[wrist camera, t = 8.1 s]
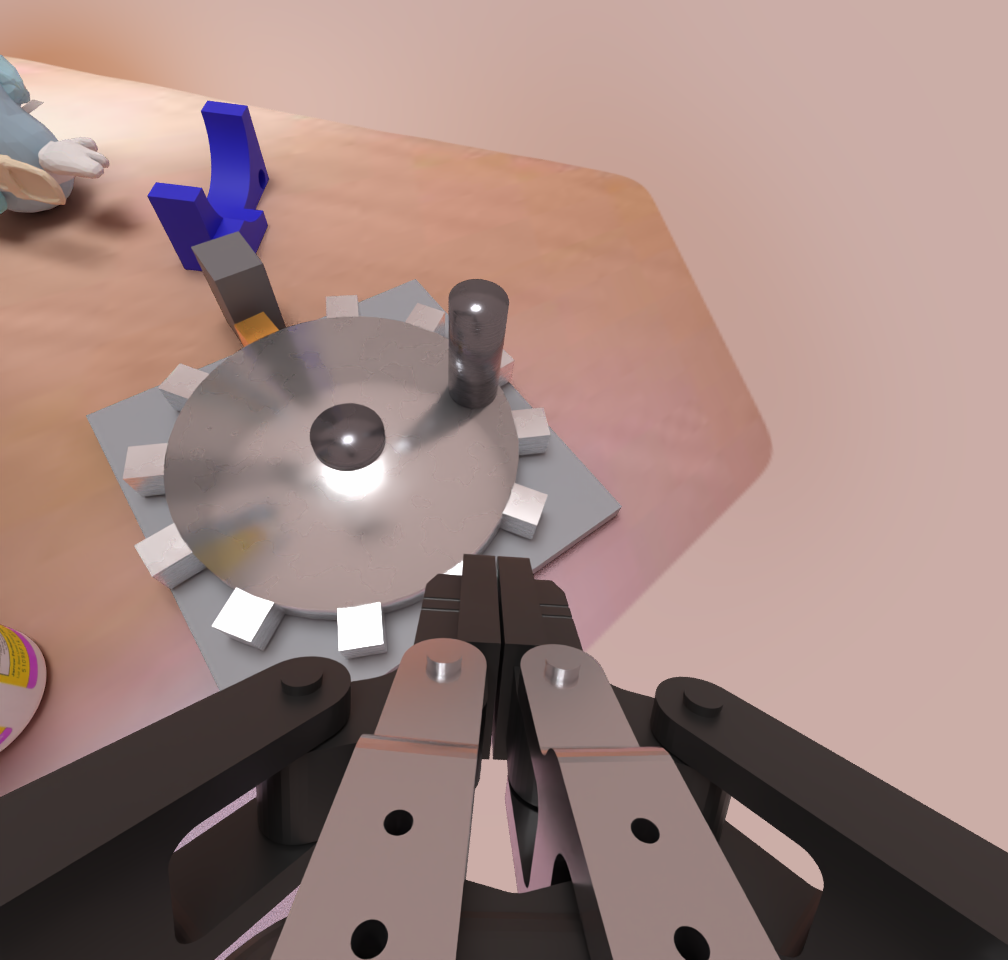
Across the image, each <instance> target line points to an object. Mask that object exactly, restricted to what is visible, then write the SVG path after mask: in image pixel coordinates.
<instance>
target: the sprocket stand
mask: <svg viewBox="0 0 1008 960" xmlns="http://www.w3.org/2000/svg"><path fill="white" fill-rule="evenodd" d="M191 248H192V250H193V252H194V254H195V256H196V258H197V261H198V263H199V265H200V267H201V269H202V271H203V273H204V275H205V277H206V279H207V281H208V283H209V285H210V288H211V290H212V292H213V294H214V296H215V298H216V300H217V302H218V304H219V306H220V308H221V310H222V312H223V315H224V317H225V319H226V320H227V322H228V323H229V325H230V326H231V328H232V329H233V331H234V332H235V334H236V335H237V337H238V338H239V340H240V341H241V339H240V337H239V335H238V333H237V331H236V329H235V327H234V325H235V324H237V323H239V322H241V321H244V320H246V319H248V318H250V317H253V316H255V315H257V314H259V313H261V312H264V313H265V314H266V315H267V317H268V318H269V319H270V320H271V321H272V322H273V324H274V325H275V326H276V327H277V328H278V330H281V329H284V328H286V327H285V324H284V321H283V318H282V315H281V313H280V310H279V307H278V304H277V301H276V299H275V296H274V293H273V290H272V287H271V285H270V282H269V279H268V276H267V273H266V270H265V268H264V265H263V263H262V262H261V260H260V259H259V258H258V256H257V255H256V254H255V252H254V251H253V250H252V248H251V247H250V246H249V244H248V243H247V242H246V240H245V239H244V238H243V236H242V235H241V234H240V232H239V231H237V232H234V233H231V234H228V235H225V236H222V237H219V238H216V239H213V240H210V241H207V242H204V243H201V244H198V245H195V246H192V247H191ZM417 303H420V304H423V305H426V306H429V307H432V308H435V309H438V310H441V311H444V310H443V309H442V308H441V307H440V305H439V304H438V303H437V302H436V301H435V300H434V299H433V298H432V297H431V295H430V294H429V293H428V292H427V291H426V290H425V289H424V288H423V287H422V286H421V284H420V283H419V282H418V281H417V280H416V279H414V280H412V281H410V282H407V283H405V284H402V285H400V286H398V287H395V288H393V289H390V290H388V291H385V292H383V293H381V294H378V295H376V296H373V297H371V298H369V299H366V300H364V301H361V302H359V308H360V314H361V316H364V317H377V318H385V319H391V320H397V321H402V322H405V321H406V320H407V318H408V317H409V315H410V314H411V312H412V310H413V309H414V307H415V306H416V304H417ZM444 312H445V311H444ZM326 318H327V316H325V317H323V318H320V319H326ZM318 320H319V319H318ZM448 331H449V315H448V314H447V313H446V312H445V335H444V337H445V338H447V339H448ZM241 343H242V342H241ZM231 356H232V355H231ZM229 357H230V356H229ZM227 358H228V357H226V358H224V359H222V360H219V361H217V362H214V363H212V364H209V365H207V366H205V367H202V368H200V369H197V370H200V371H203V372H206V373H208V374H210V373H211V372H212V371H213V370H214V369H215V368H216V367H218V366H219V365H220V364H221V363H222V362H224V361H225V360H226V359H227ZM159 386H160V385H159ZM159 386H156V387H154V388H152V389H149V390H147V391H144V392H142V393H140V394H137V395H135V396H132V397H130V398H127V399H125V400H123V401H120V402H118V403H115V404H113V405H111V406H108V407H106V408H103V409H101V410H99V411H96V412H94V413H91V414H89V415H86V417H87V419H88V421H89V423H90V425H91V427H92V429H93V431H94V433H95V435H96V437H97V439H98V441H99V443H100V445H101V447H102V449H103V452H104V454H105V456H106V458H107V460H108V462H109V464H110V466H111V468H112V470H113V472H114V474H115V476H116V478H117V480H118V482H119V484H120V487H121V489H122V491H123V493H124V495H125V497H126V499H127V501H128V503H129V505H130V507H131V509H132V511H133V513H134V515H135V517H136V519H137V521H138V524H139V526H140V528H141V530H142V532H143V534H144V536H145V538H148V537H150V536H152V535H153V534H155V533H157V532H159V531H160V530H162V529H164V528H166V527H168V526H169V525H171V524H173V523H174V522H173V520H172V517H171V514H170V511H169V508H168V504H167V501H166V496H165V494H161V495H152V496H143V497H142V496H140V495H139V494H138V493H137V492H136V491H135V490H134V489H133V488H132V487H131V486H130V485H129V484H127V483H126V482H125V481H124V480H123V473H124V468H125V462H126V456H127V450H128V447H129V446H140V445H151V444H161V443H168V440H169V437H170V434H171V432H172V429H173V427H174V424H175V421H176V419H177V417H178V416H179V414H180V412H181V411H178V410H175V409H173V408H172V406H171V405H170V404H169V402H168V401H167V399H166V398H165V397H164V395H163V394H162V393H161V391H160V390H159V389H158V387H159ZM500 388H501V389H502V391H503V392H504V394H505V397H506V399H507V401H508V403H509V405H510V407H511V410H523V409H533V408H532V407H531V406H530V405H529V404H528V402H527V401H526V400H525V399H524V398H523V397H522V396H521V395H520V394H519V393H518V391H517V390H516V389H515V388H514V387H513V386H512V385H511V384H510V383H509V382H508V383H506V384H504V385H503V386H501V387H500ZM548 427H549V426H548ZM549 431H550V438H549V442H548V445H547V448H546V451H545V453H538V454H529V455H520V456H519V461H518V468H517V474H516V480H515V483H516V484H519V485H522V486H525V487H527V488H530V489H533V490H536V491H539V492H541V493H544V494H547V495H548V496H547V499H546V501H545V504H544V507H543V510H542V513H541V515H540V518H539V521H538V524H537V527H536V529H535V532H534V535H533V538H532V540H531V539H528V538H525V537H522V536H520V535H517V534H514V533H511V532H509V531H506V530H503V529H501V528H499V530H498V532H497V533H496V535H495V536H494V538H493V539H492V541H491V542H490V544H489V545H488V547H487V548H486V550H485V551H484V552H483V553H482V554H481V555H491V556H495V561H497V556H507V557H522V558H529V559H530V562H531V567H532V572H533V574H534V573H536V572H537V571H539V570H540V569H541V568H543V567H544V566H546V565H547V564H548V563H550V562H551V561H553V560H554V559H555V558H557V557H558V556H560V555H561V554H562V553H564V552H565V551H567V550H568V549H569V548H571V547H572V546H574V545H575V544H577V543H578V542H579V541H581V540H582V539H584V538H585V537H586V536H588V535H589V534H591V533H592V532H593V531H595V530H596V529H598V528H599V527H600V526H602V525H603V524H605V523H606V522H607V521H609V520H610V519H612V518H613V517H615V516H616V515H617V513H618V512H619V510H620V509H621V507H622V506H621V505H620V504H619V503H618V502H617V501H616V500H615V498H614V497H613V496H612V495H611V494H610V493H609V492H608V491H607V490H606V489H605V487H604V486H603V485H602V484H601V483H600V482H599V481H598V480H597V479H596V478H595V476H594V475H593V474H592V473H591V472H590V471H589V470H588V469H587V468H586V466H585V465H584V464H583V463H582V462H581V461H580V460H579V459H578V458H577V457H576V455H575V454H574V453H573V452H572V451H571V450H570V449H569V448H568V447H567V446H566V444H565V443H564V442H563V441H562V440H561V439H560V438H559V437H558V436H557V434H556V433H555V432H554V431H553V430H552V429H551V428H550V427H549ZM171 591H172V593H173V596H174V598H175V600H176V602H177V604H178V606H179V608H180V610H181V612H182V614H183V616H184V618H185V620H186V622H187V624H188V626H189V628H190V631H191V633H192V635H193V637H194V639H195V641H196V643H197V645H198V647H199V649H200V651H201V653H202V655H203V657H204V659H205V661H206V663H207V665H208V668H209V670H210V672H211V674H212V676H213V678H214V680H215V682H216V684H217V686H218V688H219V690H220V691H221V690H223V689H225V688H227V687H230V686H232V685H234V684H236V683H238V682H240V681H242V680H244V679H246V678H248V677H250V676H252V675H254V674H256V673H258V672H261V671H263V670H265V669H267V668H269V667H271V666H273V665H275V664H277V663H280V662H282V661H285V660H289V659H293V658H297V657H305V656H318V657H325V658H330V659H333V660H335V661H337V662H339V663H341V664H342V665H344V666H345V667H346V668H347V670H348V671H349V673H350V676H351V682H352V681H358V680H364V679H370V678H375V677H379V676H382V675H385V674H388V673H390V672H392V671H394V670H396V669H398V667H399V664H400V662H401V659H402V657H403V655H404V653H405V652H406V651H407V650H408V649H409V648H410V647H412V646H413V645H414V641H415V636H416V631H417V626H418V622H419V617H420V612H421V607H422V602H423V599H422V600H420V601H418V602H416V603H414V604H412V605H409V606H406V607H404V608H401V609H398V610H395V611H392V612H389V613H385V614H384V617H385V629H386V642H387V652H386V653H380V654H374V655H368V656H362V657H356V658H350V659H346V658H345V657H344V656H343V655H342V654H341V653H340V651H339V638H338V620H321V619H310V618H304V617H298V616H292V615H288V614H284V616H283V618H282V620H281V621H280V623H279V625H278V627H277V628H276V630H275V632H274V634H273V635H272V637H271V639H270V640H269V642H268V644H267V646H266V647H265V649H264V651H263V650H260V649H258V648H255V647H253V646H250V645H248V644H245V643H243V642H240V641H238V640H235V639H233V638H230V637H228V636H226V635H224V634H223V633H221V632H220V631H218V630H217V629H215V628H214V627H212V625H213V623H214V622H215V620H216V618H217V617H218V615H219V614H220V612H221V611H222V609H223V607H224V606H225V604H226V603H227V601H228V600H229V598H230V596H231V595H232V593H233V592H234V590H233V589H232V588H231V587H229V586H228V585H226V584H225V583H224V582H223V581H222V580H221V579H219V578H218V577H217V576H216V575H215V574H214V573H213V572H211V571H210V570H209V569H208V568H207V567H206V568H205V569H203V570H201V571H200V572H198V573H196V574H195V575H193V576H191V577H190V578H188V579H187V580H185V581H183V582H182V583H180V584H178V585H177V586H175V587H174V588H172V589H171Z"/></svg>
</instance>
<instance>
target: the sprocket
mask: <svg viewBox="0 0 1008 960" xmlns="http://www.w3.org/2000/svg"><path fill="white" fill-rule="evenodd" d="M508 306H509V299H508V296H507V294H506V292H505V291H504V290H503V289H502V288H501V287H500V286H498V285H497V284H495V283H493V282H490V281H487V280H482V279H470V280H466V281H463V282H461V283H459V284H457V285H456V286H455V287H454V288H453V289H452V290H451V292H450V294H449V331H448V339H447V338H445V337H444V335H445V312H444V311H441V310H438V309H435V308H432V307H429V306H426V305H423V304H420V303H417V304H416V306H415V307H414V309H413V310H412V312H411V314H410V315H409V317H408V318H407V320H406V321H405V322H402V321H397V320H391V319H385V318H377V317H364V316H361V314H360V308H359V303H358V298H357V295H348V296H330V297H326V313H327V318H326V319H319V320H314V321H309V322H304V323H300V324H297V325H294V326H290V327H287V328H284V329H281V330H278V328H277V327H276V326H275V325H274V324H273V322H272V321H271V320H270V319H269V318H268V317H267V315H266V314H265V313H264V312H261V313H259V314H257V315H255V316H253V317H250V318H248V319H246V320H244V321H241V322H239V323H237V324H235V325H234V327H235V329H236V331H237V333H238V335H239V337H240V339H241V342H242V344H243V346H244V348H242V349H241V350H239V351H238V352H236V353H235V354H233V355H232V356H230V357H228V358H227V359H226V360H225V361H224V362H222V363H221V364H220V365H219V366H218V367H216V368H215V369H214V370H213V371H212V372H211V373H210V374H208V373H206V372H203V371H200V370H197V369H194V368H192V367H189V366H186V365H183V364H179V365H178V366H177V367H176V368H175V369H174V370H173V372H172V373H171V374H170V375H169V376H168V377H167V378H166V379H165V380H164V382H163V383H162V384H161V385H160V386H159V387H158V389H159V390H160V391H161V393H162V394H163V395H164V397H165V398H166V399H167V401H168V402H169V404H170V405H171V406H172V408H173V409H175V410H178V411H181V412H180V414H179V416H178V417H177V419H176V421H175V424H174V427H173V429H172V432H171V434H170V437H169V440H168V443H161V444H151V445H140V446H129V447H128V450H127V456H126V462H125V468H124V473H123V480H124V481H125V482H126V483H127V484H129V485H130V486H131V487H132V488H133V489H134V490H135V491H136V492H137V493H138V494H139V495H140V496H142V497H143V496H152V495H161V494H165V496H166V501H167V504H168V508H169V511H170V514H171V517H172V520H173V522H174V523H173V524H171V525H169V526H168V527H166V528H164V529H162V530H160V531H159V532H157V533H155V534H153V535H152V536H150V537H148V538H146V539H145V540H143V541H141V542H139V543H138V544H136V545H134V546H135V548H136V550H137V552H138V553H139V555H140V557H141V558H142V560H143V562H144V564H145V565H146V567H147V569H148V570H149V572H150V574H151V576H152V577H154V578H155V579H157V580H158V581H159V582H161V583H162V584H164V585H165V586H167V587H168V588H170V589H172V588H174V587H175V586H177V585H178V584H180V583H182V582H183V581H185V580H187V579H188V578H190V577H191V576H193V575H195V574H196V573H198V572H200V571H201V570H203V569H205V568H206V567H207V568H208V569H209V570H210V571H211V572H213V573H214V574H215V575H216V576H217V577H218V578H219V579H221V580H222V581H223V582H224V583H225V584H226V585H228V586H229V587H231V588H232V589H233V590H234V592H233V593H232V595H231V596H230V598H229V600H228V601H227V603H226V604H225V606H224V607H223V609H222V611H221V612H220V614H219V615H218V617H217V618H216V620H215V622H214V623H213V625H212V627H214V628H215V629H217V630H218V631H220V632H221V633H223V634H224V635H226V636H228V637H230V638H233V639H235V640H238V641H240V642H243V643H245V644H248V645H250V646H253V647H255V648H258V649H260V650H263V651H264V649H265V647H266V646H267V644H268V642H269V640H270V639H271V637H272V635H273V634H274V632H275V630H276V628H277V627H278V625H279V623H280V621H281V620H282V618H283V616H284V614H288V615H292V616H298V617H304V618H310V619H321V620H338V638H339V651H340V653H341V654H342V655H343V656H344V657H345V658H346V659H350V658H356V657H362V656H368V655H374V654H380V653H386V652H387V642H386V629H385V617H384V614H385V613H389V612H392V611H395V610H398V609H401V608H404V607H406V606H409V605H412V604H414V603H416V602H418V601H420V600H422V599H424V593H425V588H426V584H427V583H428V582H429V581H430V580H431V579H432V578H434V577H435V576H436V575H437V574H438V573H439V574H454V575H462V566H463V554H476V555H481V554H482V553H483V552H484V551H485V550H486V548H487V547H488V545H489V544H490V542H491V541H492V539H493V538H494V536H495V535H496V533H497V532H498V530H499V528H501V529H503V530H506V531H509V532H511V533H514V534H517V535H520V536H522V537H525V538H528V539H531V540H532V538H533V535H534V532H535V529H536V527H537V524H538V521H539V518H540V515H541V513H542V510H543V507H544V504H545V501H546V499H547V496H548V495H547V494H544V493H541V492H539V491H536V490H533V489H530V488H527V487H525V486H522V485H519V484H516V483H515V480H516V474H517V468H518V461H519V456H520V455H529V454H538V453H545V451H546V448H547V445H548V442H549V438H550V431H549V427H548V423H547V420H546V416H545V412H544V408H533V409H523V410H511V407H510V405H509V403H508V401H507V399H506V397H505V394H504V392H503V391H502V389H501V388H500V387H501V386H503V385H504V384H506V383H508V382H509V381H511V378H512V372H513V366H514V359H513V358H512V357H511V356H510V355H509V354H508V353H507V352H505V351H504V350H503V345H504V337H505V329H506V322H507V314H508Z"/></svg>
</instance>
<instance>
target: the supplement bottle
mask: <svg viewBox="0 0 1008 960" xmlns="http://www.w3.org/2000/svg"><path fill="white" fill-rule="evenodd" d="M45 685H46V664H45V660H44V657H43V655H42V652H41V651H40V649H39V648H38V646H37V645H36V644H35V643H34V642H33V641H32V640H31V639H30V638H29V637H27V636H26V635H24V634H23V633H21V632H19V631H17V630H14V629H11V628H9V627H6V626H3V625H0V752H1V751H2V750H3V749H5V748H6V747H7V746H8V745H9V744H10V743H11V742H12V741H13V740H15V738H16V737H17V736H18V735H19V734H20V733H21V732H22V731H23V729H24V728H25V727H26V726H27V724H28V723H29V721H30V720H31V718H32V717H33V715H34V713H35V712H36V710H37V708H38V706H39V704H40V701H41V699H42V696H43V693H44V689H45Z"/></svg>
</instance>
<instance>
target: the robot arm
mask: <svg viewBox="0 0 1008 960" xmlns="http://www.w3.org/2000/svg"><path fill="white" fill-rule="evenodd" d="M491 736H492V744H493V759H498V760H507V764H508V776H507V786H506V793H505V804H506V811H507V818H508V825H509V833H510V839H511V846H512V854H513V861H514V868H515V875H516V882H517V890H518V893H510V892H506V891H502V890H499V889H495V888H492V887H489V886H485V885H482V884H478V883H475V882H471V881H468V880H466V872H467V862H468V853H469V842H470V833H471V822H472V813H473V803H474V793H475V788H476V787H477V785H478V782H479V779H480V771H481V761H482V759H489V756H490V746H491ZM254 787H256V792H257V797H256V798H254V799H253V800H251V801H250V802H248V803H247V804H245V805H244V806H242V807H241V808H239V809H238V810H236V811H235V812H233V813H232V814H230V815H229V816H227V817H226V818H225V819H223V820H222V821H220V822H219V823H217V824H216V825H214V826H213V827H211V828H210V829H208V830H207V831H205V832H204V833H202V834H201V835H199V836H198V837H196V838H195V839H194V840H192V841H191V842H189V843H188V844H186V845H185V846H183V847H182V848H180V849H179V850H177V851H176V852H174V850H175V849H176V847H177V846H178V844H179V843H180V842H181V840H182V839H183V838H184V837H185V836H186V835H187V834H188V833H189V832H190V831H191V830H192V829H193V828H194V827H196V826H197V825H198V824H200V823H201V822H203V821H204V820H206V819H207V818H209V817H210V816H212V815H213V814H215V813H216V812H218V811H220V810H221V809H223V808H224V807H226V806H227V805H229V804H230V803H232V802H233V801H235V800H236V799H238V798H239V797H241V796H242V795H244V794H245V793H247V792H248V791H250V790H251V789H253V788H254ZM731 796H732V797H733V798H735V799H736V800H738V801H739V802H740V803H742V804H743V805H744V806H746V807H747V808H749V809H750V810H751V811H753V812H754V813H755V814H757V815H758V816H760V817H761V818H762V819H764V820H765V821H767V822H768V823H769V824H771V825H772V826H773V827H775V828H776V829H778V830H779V831H780V832H782V833H783V834H785V835H786V836H787V837H789V838H790V839H791V840H793V841H794V842H796V843H797V844H799V845H800V846H801V847H802V848H803V849H805V850H806V851H807V852H808V853H809V854H810V856H811V857H812V858H813V859H814V861H815V862H816V864H817V865H818V867H819V869H820V871H821V873H822V876H823V881H824V888H823V891H821V890H818V889H816V888H814V887H813V886H811V885H810V884H808V883H807V882H806V881H804V880H803V879H802V878H800V877H799V876H798V875H796V874H795V873H794V872H792V871H791V870H790V869H788V868H787V867H786V866H785V865H783V864H782V863H781V862H779V861H778V860H777V859H775V858H774V857H773V856H771V855H770V854H769V853H768V852H766V851H765V850H764V849H762V848H761V847H760V846H758V845H757V844H756V843H754V842H753V841H752V840H750V839H749V838H748V837H747V836H745V835H744V834H743V833H741V832H740V831H739V830H737V829H736V828H735V827H733V826H732V825H731V824H729V823H728V822H727V821H726V820H725V818H726V814H727V810H728V806H729V802H730V799H731ZM173 852H174V853H173ZM299 885H300V887H299V889H298V892H297V894H296V897H295V899H294V902H293V904H292V907H291V909H290V912H289V914H288V917H286V918H284V919H282V920H280V921H278V922H276V923H274V924H273V925H271V926H269V927H268V928H266V929H265V930H263V931H261V932H260V933H258V934H257V935H255V936H254V937H252V938H251V939H250V940H248V941H247V942H246V943H244V944H243V945H242V946H241V947H239V948H238V949H237V950H235V951H234V952H233V953H231V954H230V955H229V956H228V957H227V958H226V959H225V960H1008V853H1007V852H1006V851H1004V850H1002V849H1000V848H999V847H997V846H995V845H993V844H992V843H990V842H988V841H986V840H985V839H983V838H981V837H980V836H978V835H976V834H974V833H973V832H971V831H969V830H967V829H966V828H964V827H962V826H961V825H959V824H957V823H955V822H954V821H952V820H950V819H948V818H947V817H945V816H943V815H941V814H940V813H938V812H936V811H934V810H933V809H931V808H929V807H928V806H926V805H924V804H922V803H921V802H919V801H917V800H915V799H913V798H912V797H910V796H908V795H907V794H905V793H903V792H902V791H900V790H898V789H896V788H895V787H893V786H891V785H889V784H888V783H886V782H884V781H883V780H881V779H879V778H877V777H876V776H874V775H872V774H870V773H869V772H867V771H865V770H863V769H862V768H860V767H858V766H857V765H855V764H853V763H851V762H850V761H848V760H846V759H844V758H843V757H841V756H839V755H837V754H836V753H834V752H832V751H830V750H829V749H827V748H825V747H823V746H822V745H820V744H818V743H817V742H815V741H813V740H811V739H810V738H808V737H806V736H805V735H803V734H801V733H799V732H797V731H796V730H794V729H792V728H791V727H789V726H787V725H785V724H784V723H782V722H780V721H778V720H777V719H775V718H773V717H771V716H770V715H768V714H766V713H765V712H763V711H761V710H759V709H758V708H756V707H754V706H753V705H751V704H749V703H747V702H746V701H744V700H742V699H740V698H738V697H737V696H735V695H733V694H732V693H730V692H728V691H726V690H725V689H723V688H721V687H719V686H717V685H715V684H713V683H710V682H707V681H704V680H700V679H696V678H690V677H674V678H670V679H667V680H665V681H663V682H661V683H660V684H659V686H658V687H657V689H656V693H655V698H652V697H649V696H645V695H641V694H637V693H634V692H630V691H626V690H623V689H620V688H618V687H616V686H613V685H612V684H610V683H609V681H608V679H607V677H606V675H605V673H604V670H603V669H602V667H601V665H600V664H599V663H598V661H597V660H596V659H594V658H593V657H592V656H591V655H589V654H587V653H586V652H584V651H583V649H582V646H581V643H580V640H579V637H578V634H577V631H576V627H575V624H574V621H573V619H572V615H571V612H570V609H569V608H568V602H567V599H566V596H565V593H564V592H563V591H562V590H561V589H560V588H559V587H558V586H557V585H556V584H555V583H554V582H553V581H550V580H534V576H533V572H532V567H531V562H530V559H529V558H522V557H507V556H497V561H495V556H491V555H476V554H463V566H462V575H454V574H439V573H438V574H437V575H436V576H435V577H434V578H432V579H431V580H430V581H429V582H428V583H427V584H426V588H425V593H424V599H423V602H422V607H421V612H420V617H419V622H418V626H417V631H416V636H415V641H414V645H413V646H412V647H410V648H409V649H408V650H407V651H406V652H405V653H404V655H403V657H402V659H401V662H400V664H399V667H398V669H396V670H394V671H392V672H390V673H388V674H385V675H382V676H379V677H375V678H370V679H364V680H358V681H352V682H351V676H350V673H349V671H348V670H347V668H346V667H345V666H344V665H342V664H341V663H339V662H337V661H335V660H333V659H330V658H325V657H318V656H305V657H297V658H293V659H289V660H285V661H282V662H280V663H277V664H275V665H273V666H271V667H269V668H267V669H265V670H263V671H261V672H258V673H256V674H254V675H252V676H250V677H248V678H246V679H244V680H242V681H240V682H238V683H236V684H234V685H232V686H230V687H227V688H225V689H223V690H221V691H219V692H217V693H215V694H213V695H211V696H209V697H207V698H205V699H203V700H201V701H198V702H196V703H194V704H192V705H190V706H188V707H186V708H184V709H182V710H180V711H178V712H176V713H174V714H172V715H170V716H167V717H165V718H163V719H161V720H159V721H157V722H155V723H153V724H151V725H149V726H147V727H145V728H143V729H141V730H139V731H136V732H134V733H132V734H130V735H128V736H126V737H124V738H122V739H120V740H118V741H116V742H114V743H112V744H110V745H108V746H105V747H103V748H101V749H99V750H97V751H95V752H93V753H91V754H89V755H87V756H85V757H83V758H81V759H79V760H76V761H74V762H72V763H70V764H68V765H66V766H64V767H62V768H60V769H58V770H56V771H54V772H52V773H50V774H48V775H45V776H43V777H41V778H39V779H37V780H35V781H33V782H31V783H29V784H27V785H25V786H23V787H21V788H19V789H17V790H14V791H12V792H10V793H8V794H6V795H4V796H2V797H0V960H214V959H215V958H217V957H218V956H219V955H220V954H221V953H222V952H223V951H225V950H226V949H227V948H228V947H229V946H230V945H231V944H233V943H234V942H235V941H236V940H237V939H238V938H239V937H241V936H242V935H243V934H244V933H245V932H246V931H247V930H249V929H250V928H251V927H252V926H253V925H254V924H255V923H257V922H258V921H259V920H260V919H261V918H262V917H263V916H265V915H266V914H267V913H268V912H269V911H270V910H271V909H273V908H274V907H275V906H276V905H277V904H278V903H279V902H281V901H282V900H283V899H284V898H285V897H286V896H287V895H289V894H290V893H291V892H292V891H293V890H294V889H295V888H297V887H298V886H299Z"/></svg>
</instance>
